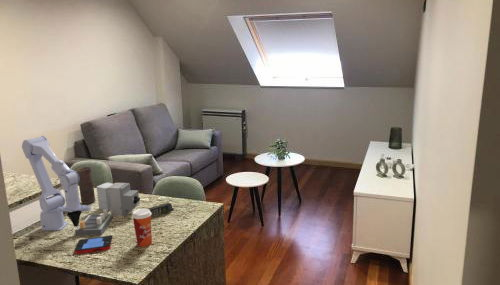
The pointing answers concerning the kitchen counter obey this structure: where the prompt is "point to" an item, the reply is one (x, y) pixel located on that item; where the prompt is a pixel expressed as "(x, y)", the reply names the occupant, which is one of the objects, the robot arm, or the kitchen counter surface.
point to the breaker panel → (95, 224)
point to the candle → (86, 185)
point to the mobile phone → (160, 209)
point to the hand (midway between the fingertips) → (76, 225)
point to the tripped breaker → (82, 224)
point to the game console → (93, 244)
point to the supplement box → (104, 196)
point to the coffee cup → (142, 226)
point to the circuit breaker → (122, 199)
